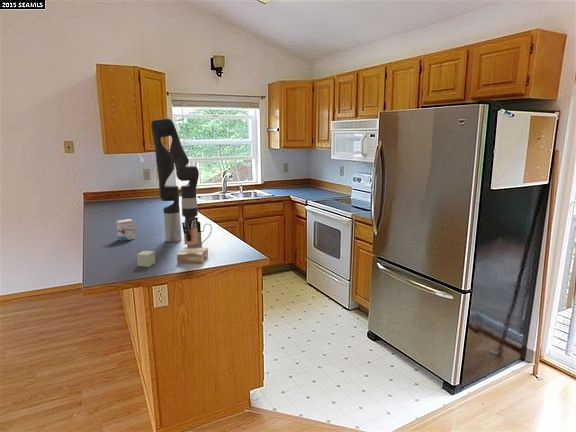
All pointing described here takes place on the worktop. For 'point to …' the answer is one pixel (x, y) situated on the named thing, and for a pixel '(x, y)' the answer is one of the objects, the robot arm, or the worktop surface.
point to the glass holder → (199, 237)
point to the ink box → (125, 229)
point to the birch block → (192, 255)
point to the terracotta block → (192, 237)
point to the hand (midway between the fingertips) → (191, 239)
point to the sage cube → (146, 258)
